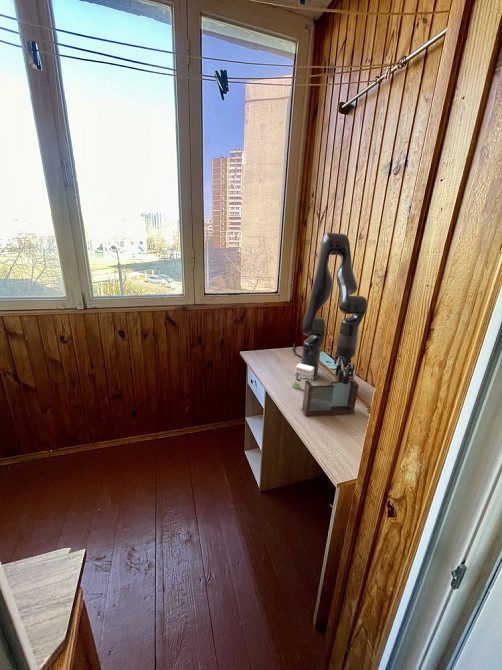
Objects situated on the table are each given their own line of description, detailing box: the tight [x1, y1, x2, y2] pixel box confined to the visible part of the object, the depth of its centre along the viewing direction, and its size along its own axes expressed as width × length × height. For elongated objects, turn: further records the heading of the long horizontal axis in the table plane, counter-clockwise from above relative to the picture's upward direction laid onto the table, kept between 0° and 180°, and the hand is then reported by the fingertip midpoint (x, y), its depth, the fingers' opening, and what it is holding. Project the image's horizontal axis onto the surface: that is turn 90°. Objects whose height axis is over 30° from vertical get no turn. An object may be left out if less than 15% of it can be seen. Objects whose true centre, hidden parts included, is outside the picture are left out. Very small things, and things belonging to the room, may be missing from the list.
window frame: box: [301, 378, 360, 417], centre depth 127 cm, size 5×22×14 cm, turn 98°
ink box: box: [293, 362, 315, 391], centre depth 147 cm, size 9×5×12 cm, turn 61°
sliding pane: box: [329, 370, 351, 407], centre depth 128 cm, size 1×9×18 cm, turn 97°
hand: (341, 379), depth 126 cm, fingers open, 7 cm apart
